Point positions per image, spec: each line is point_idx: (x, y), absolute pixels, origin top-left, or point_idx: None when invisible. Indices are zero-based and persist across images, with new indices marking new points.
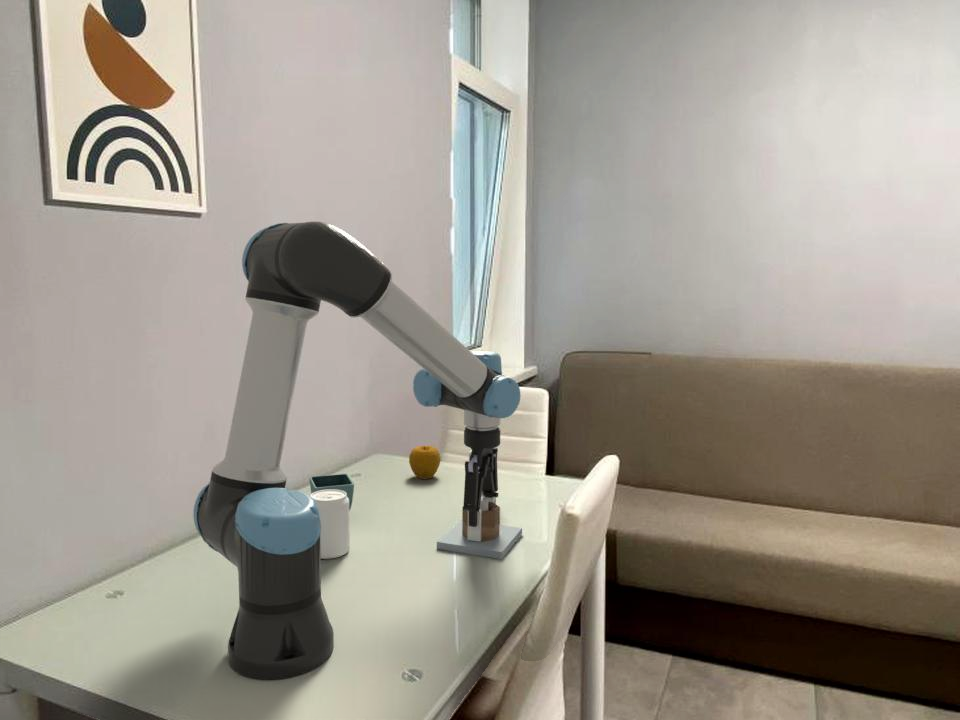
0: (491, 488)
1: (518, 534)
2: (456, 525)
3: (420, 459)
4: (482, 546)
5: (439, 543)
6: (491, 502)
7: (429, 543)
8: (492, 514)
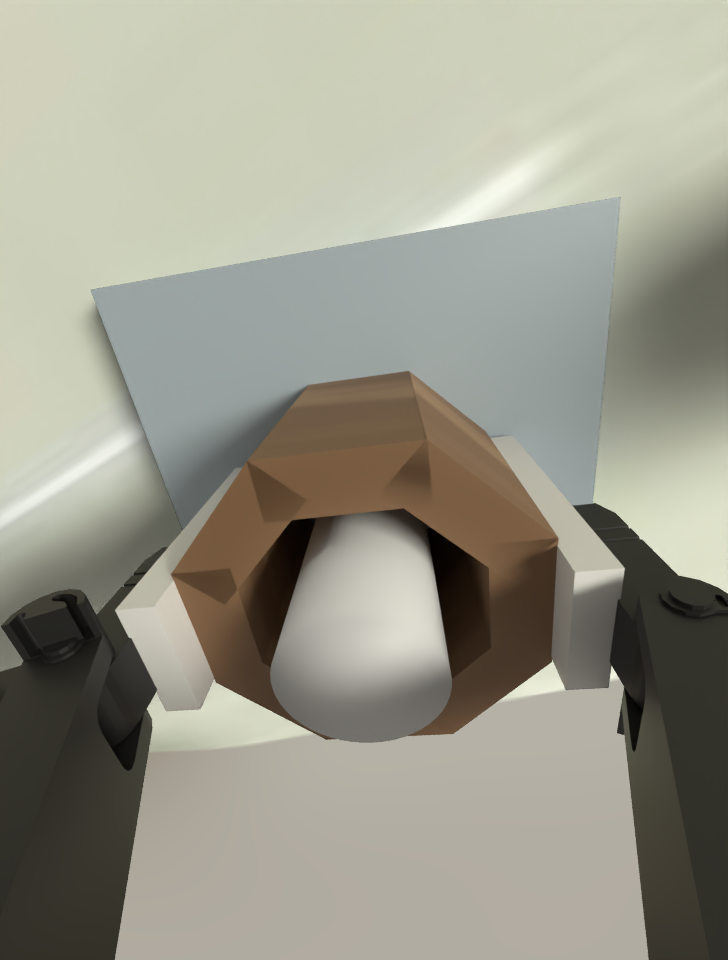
0: (635, 824)
1: None
2: (454, 240)
3: None
4: None
5: (105, 312)
6: (547, 646)
7: (157, 179)
8: None
